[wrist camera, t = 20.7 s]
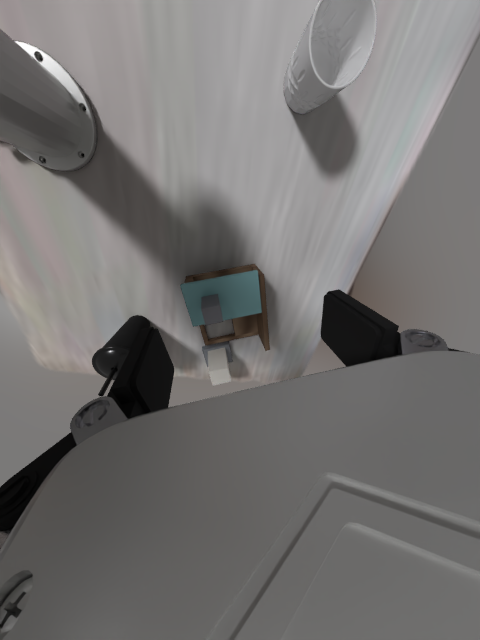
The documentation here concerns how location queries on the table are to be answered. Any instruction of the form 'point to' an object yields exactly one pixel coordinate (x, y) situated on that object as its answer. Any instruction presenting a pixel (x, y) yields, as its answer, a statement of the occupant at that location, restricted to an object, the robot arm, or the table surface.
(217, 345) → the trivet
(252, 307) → the cover
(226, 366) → the block
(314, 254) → the table surface
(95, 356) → the drinking cup
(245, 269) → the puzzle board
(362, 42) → the white cup
